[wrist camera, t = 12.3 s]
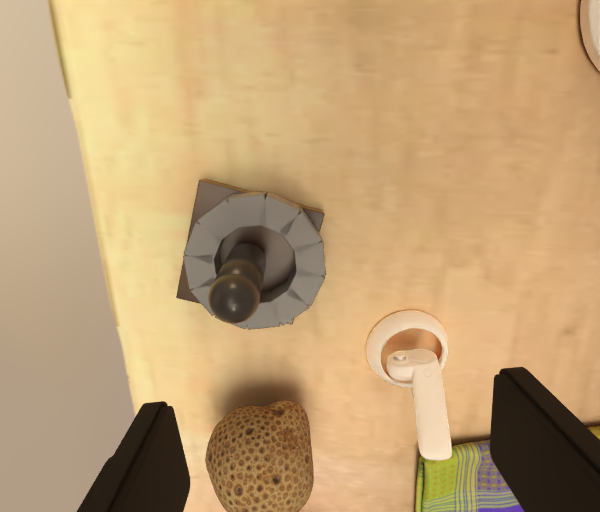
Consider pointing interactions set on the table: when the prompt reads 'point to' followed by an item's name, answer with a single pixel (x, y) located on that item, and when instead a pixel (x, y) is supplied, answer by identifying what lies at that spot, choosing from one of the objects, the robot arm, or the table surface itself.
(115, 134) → the table surface
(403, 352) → the white lever handle
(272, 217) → the grey ring
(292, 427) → the natural sponge
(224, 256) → the spindle
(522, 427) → the robot arm
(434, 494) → the dish towel
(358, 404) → the table surface
